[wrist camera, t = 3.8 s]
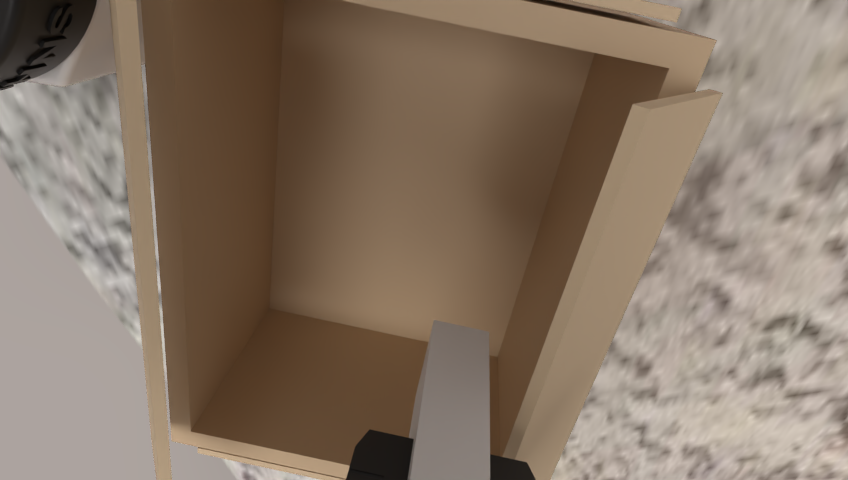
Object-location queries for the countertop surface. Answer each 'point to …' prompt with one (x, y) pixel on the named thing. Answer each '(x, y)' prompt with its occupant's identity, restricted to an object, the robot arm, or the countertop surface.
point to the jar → (57, 41)
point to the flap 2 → (608, 269)
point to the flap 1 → (141, 219)
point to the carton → (376, 199)
